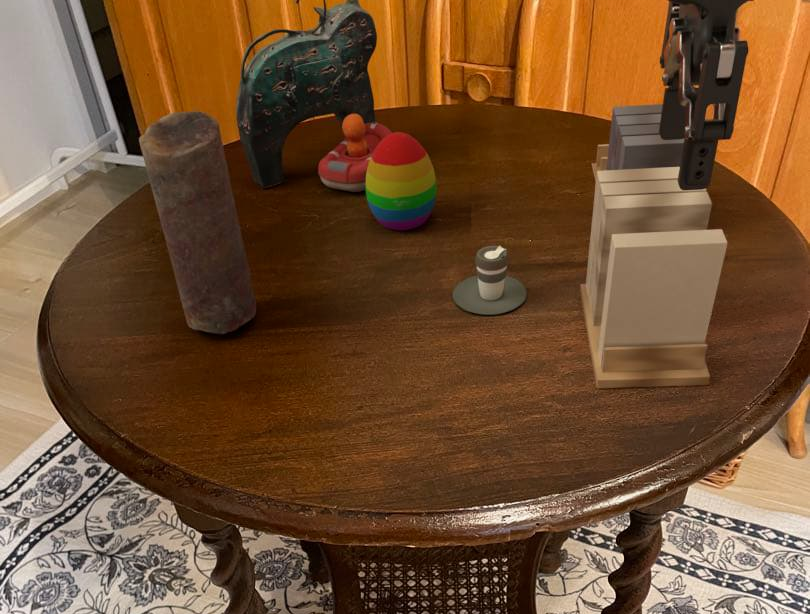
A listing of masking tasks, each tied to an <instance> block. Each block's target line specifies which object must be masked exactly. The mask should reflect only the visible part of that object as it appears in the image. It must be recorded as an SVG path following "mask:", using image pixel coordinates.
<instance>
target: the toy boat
mask: <svg viewBox="0 0 810 614" xmlns="http://www.w3.org/2000/svg"><path fill="white" fill-rule="evenodd" d="M341 130H342V133H343V136H344V135H345V136H346V138H345V136H344V139H343V140H342V141H341V142H340V143H339V144H338V145H337V146H336V147H335V148H333V149H332V150H331V151H330V152H328V154H326V155H325V156H324V157H322V159H320V161H319V163H318V171H317V173H318V176H319V177H320V180H321V183H323V184H324V185H325V186H326V187H328V188H330V189H333V190H340V191H345V192H350V193H361V192H364V191H366V173H367V168H368V164H369V161H370V158H371V156H372V154H373V152H374V150H375V148H376V147H377V145H378V144H379V143H380V142H381V141H382V140H383V139H384V138H385V137H386V136H387V135H389V134H391V133H393V132H392V131H391V130H390V129H389V127H387V126H386V125H384V124H382V123H380V122H375V123H366V124H364V122H363V119H362V118H361V116H360V115H358V114H350V115H348V116H347V117H346V118H345V119H344V121H343V124H342V128H341Z"/></svg>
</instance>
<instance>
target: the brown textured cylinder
mask: <svg viewBox="0 0 810 614" xmlns="http://www.w3.org/2000/svg"><path fill="white" fill-rule="evenodd" d="M138 142H139V146H140V151H141V154H142V158H143V162H144V165H145V169H146V172H147V177H148V180H149V184H150V188H151V191H152V195H153V198H154V202H155V207H156V210H157V213H158V217H159V221H160V224H161V228H162V231H163V235H164V239H165V244H166V247H167V250H168V255H169V258H170V262H171V266H172V270H173V274H174V278H175V281H176V285H177V290H178V293H179V298H180V301H181V305H182V309H183V311H184V312H183V313H184V316H185V320H186V323H187V326H188V328H190V329H192V330H194V331H202V332H205V333H210V334H217V335H219V334H220V335H226V334H227V333H231V332H234V331H236V330H238V329H239V328H240V327H241V326H243V325H245V324H246V323H248V322H250V321H251V320H252V319H253V318H254V317H256V313H257V303H256V297H255V292H254V288H253V282H252V277H251V273H250V268H249V263H248V259H247V253H246V249H245V243H244V240H243V236H242V232H241V231H242V230H241V227H240V222H239V218H238V212H237V208H236V203H235V198H234V193H233V189H232V183H231V178H230V173H229V168H228V164H227V157H226V153H225V149H224V144H223V140H222V134H221V129H220V124H219V122H218V119H216V118H215V117H213V116H212V115H210V114H207V113H206V112H202V111H199V110H193V111H181V112H180V111H176V112H171V113H170V114H167V115H164V116H163V117H161V118H159V119H158V120H155V121H154V122H152V123H151V124H150V125H148V127H147V128H146V129H145V132H144V134H142V135H141V136H139V137H138Z"/></svg>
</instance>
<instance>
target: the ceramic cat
mask: <svg viewBox="0 0 810 614" xmlns="http://www.w3.org/2000/svg"><path fill="white" fill-rule="evenodd" d="M322 2H323V7H322V6H313V10H314V11H315V13H317V15H319V16H318V22H317V26H316V27H314V28H311V29H307V30H291V29H286V28H280V29H279V28H278V29H277V28H275V29H272V30H270V31H268V32H266V33H264V34H262V35H260V36H259V37H257V38H255V40H253V41H252V42H251V43H249V45H248V46H247V48H246V50H245V51H244V52H243V57H242V60H241V66H240V80H239V85H238V91H237V97H236V101H235V117H236V119H235V120H236V126H237V129H238V136H239V140H240V143H241V147H242V148H243V151H244V154H245V156H246V159H247V162H248V164H249V168H250V171H251V175H252V178H253V181H254V182H255V183H256V182H257V183H258V184H260V185H261V186H262V187H261V186H260V185H259V186H260V187H261V188H263V187H267V186H271V185H274V184H277V183H279V182H282V181H284V182H285V175H284V169H283V148H284V145H285V143H286V140H287V138H288V136H289V135H290V133H291V132H293V130H294V129H295V128H296V127H297V126H298V125H300V124H301V123H303V122H305V121H308V120H309V119H313V118H317V117H322V116H329V115H334V116H335V118H336V119H337V121H338V122H339V125H340V127H341V129H342V124H343V121H344V119H345V118H346V117H347V116H348V115H350V114H358V115H360V116H361V118H362V119H363V122H364V124H366V123H376V117H375V100H374V93H373V87H372V84H371V83H372V82H371V78H370V73H369V70H368V66H369V63H370V61H371V58H372V56H373V54H374V53H375V51H376V48H377V43H378V33H377V29H376V28H377V27H376V23H375V20H374V18H373V16H372V15H371V13H369V12H368V11H367V10H366V9H364V8H363V7H362V5H361V4H360V2H359V0H346V1H345V2H342V3H339V4H335V5H334V6H332V7H329V8H328V9H327V3H326V0H322ZM295 3H296V4H297V5H299V3H300V0H295ZM275 34H276V35H277V34H285V35H283V36H281V37H280V38H278V39H276V40H274V41H273V42H271V43H269V44H266V45H265V46H263V47H261V48H260V49H258V51H256V52H255V54H254V56H253V57H252V58H251V59H250V60H249V61H248V62H247V60H248V57H249V55H250V53H251V52H252V50H253V48H254V47H255V46H256V45H258V44H259V43H260V42H262V41H264V40H266V39H267V38H268V37H270V36H273V35H275ZM246 62H247V64H246ZM343 136H344V139H345V138H346V136H345V135H344V134H343ZM257 183H256V184H257ZM258 184H257V185H258Z"/></svg>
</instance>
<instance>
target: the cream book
mask: <svg viewBox="0 0 810 614" xmlns="http://www.w3.org/2000/svg"><path fill="white" fill-rule="evenodd" d="M727 247H728V239H727V238H726V236H725V233H724V231H723V229H722V228H720V229H719V228H717V229H715V228H714V229H707V230H693V231H671V232H649V233H627V234H612V237H611V246H610V254H609V262H608V271H607V279H606V288H605V296H604V305H603V313H602V322H601V330H600V338H599V347H598V356H599V362H600V366H601V367H602V362H603V354H604V347H627V346H655V345H684V344H706V339H707V334H708V331H709V330H708V329H709V326H710V323H711V322H710V321H711V317H712V313H713V309H714V304H715V300H716V296H717V291H718V286H719V283H720V277H721V274H722V273H721V272H722V269H723V265H724V260H725V256H726V252H727V251H726V250H727Z"/></svg>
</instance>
